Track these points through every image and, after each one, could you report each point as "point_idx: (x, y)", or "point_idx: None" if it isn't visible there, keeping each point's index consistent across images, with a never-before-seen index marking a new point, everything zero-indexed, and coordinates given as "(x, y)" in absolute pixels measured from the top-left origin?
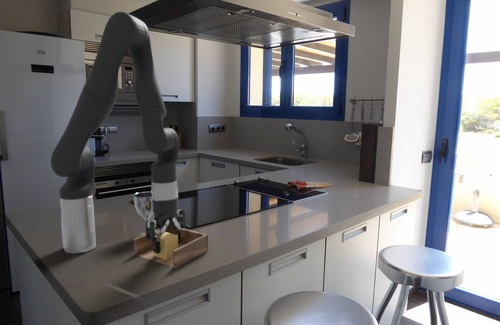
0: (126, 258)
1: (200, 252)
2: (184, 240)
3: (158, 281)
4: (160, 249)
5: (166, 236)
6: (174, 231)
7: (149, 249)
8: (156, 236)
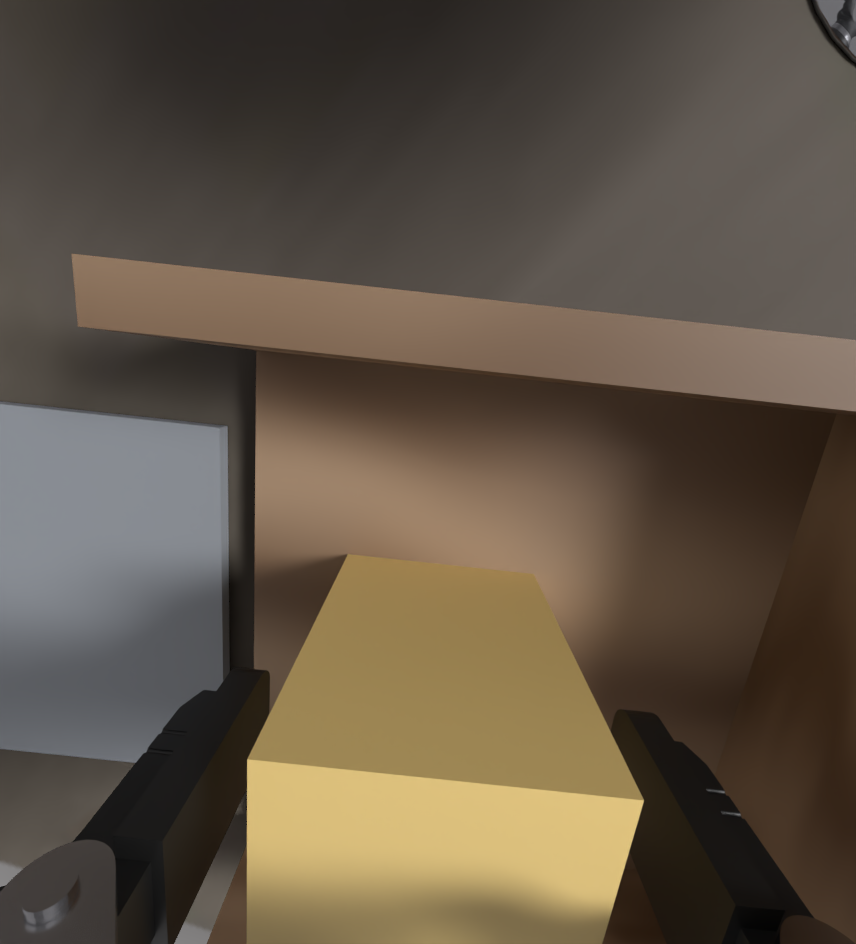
0: (178, 260)
1: None
2: (799, 690)
3: (59, 821)
4: (244, 792)
5: (418, 937)
6: (746, 920)
7: (467, 376)
8: (309, 787)
